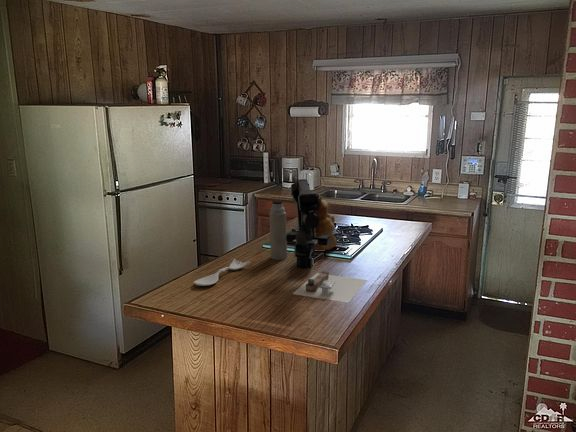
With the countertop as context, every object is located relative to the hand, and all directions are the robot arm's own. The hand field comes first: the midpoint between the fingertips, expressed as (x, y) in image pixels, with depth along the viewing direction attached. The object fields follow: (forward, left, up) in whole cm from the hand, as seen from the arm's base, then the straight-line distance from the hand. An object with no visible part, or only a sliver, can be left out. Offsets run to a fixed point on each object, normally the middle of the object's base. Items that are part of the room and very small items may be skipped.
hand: (308, 257), depth 206 cm
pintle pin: (+7, -13, -6) cm, 16 cm away
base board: (+13, -7, -10) cm, 17 cm away
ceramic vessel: (-11, +40, -10) cm, 43 cm away
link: (+7, -6, -8) cm, 12 cm away
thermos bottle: (-25, +22, -10) cm, 35 cm away
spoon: (-37, -11, -10) cm, 40 cm away
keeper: (+13, -12, -9) cm, 20 cm away
